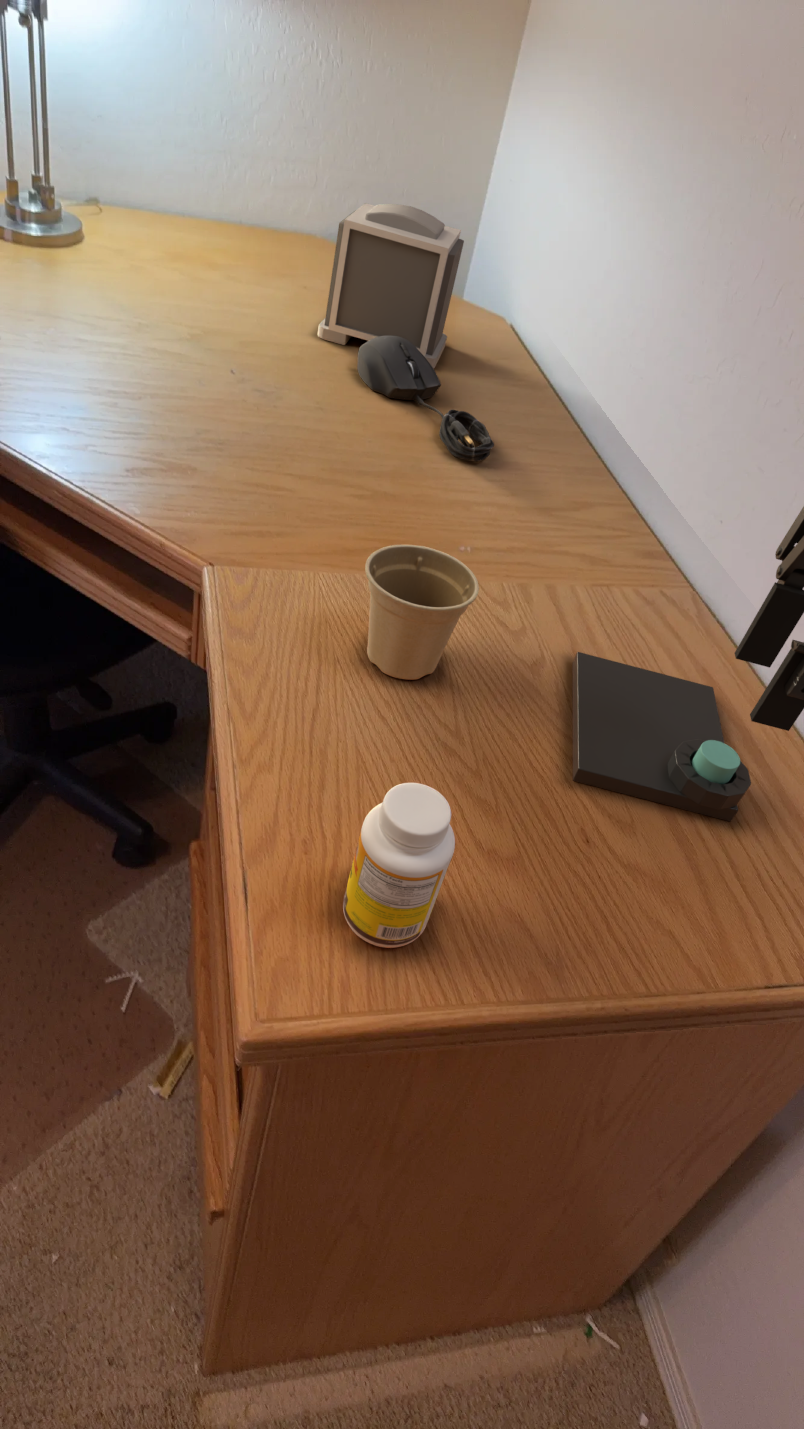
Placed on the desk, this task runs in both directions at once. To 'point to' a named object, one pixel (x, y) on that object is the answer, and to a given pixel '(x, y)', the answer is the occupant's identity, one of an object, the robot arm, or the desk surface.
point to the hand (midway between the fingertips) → (760, 689)
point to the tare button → (716, 761)
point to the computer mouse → (419, 391)
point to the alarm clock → (392, 277)
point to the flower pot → (414, 607)
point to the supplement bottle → (399, 866)
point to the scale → (648, 736)
